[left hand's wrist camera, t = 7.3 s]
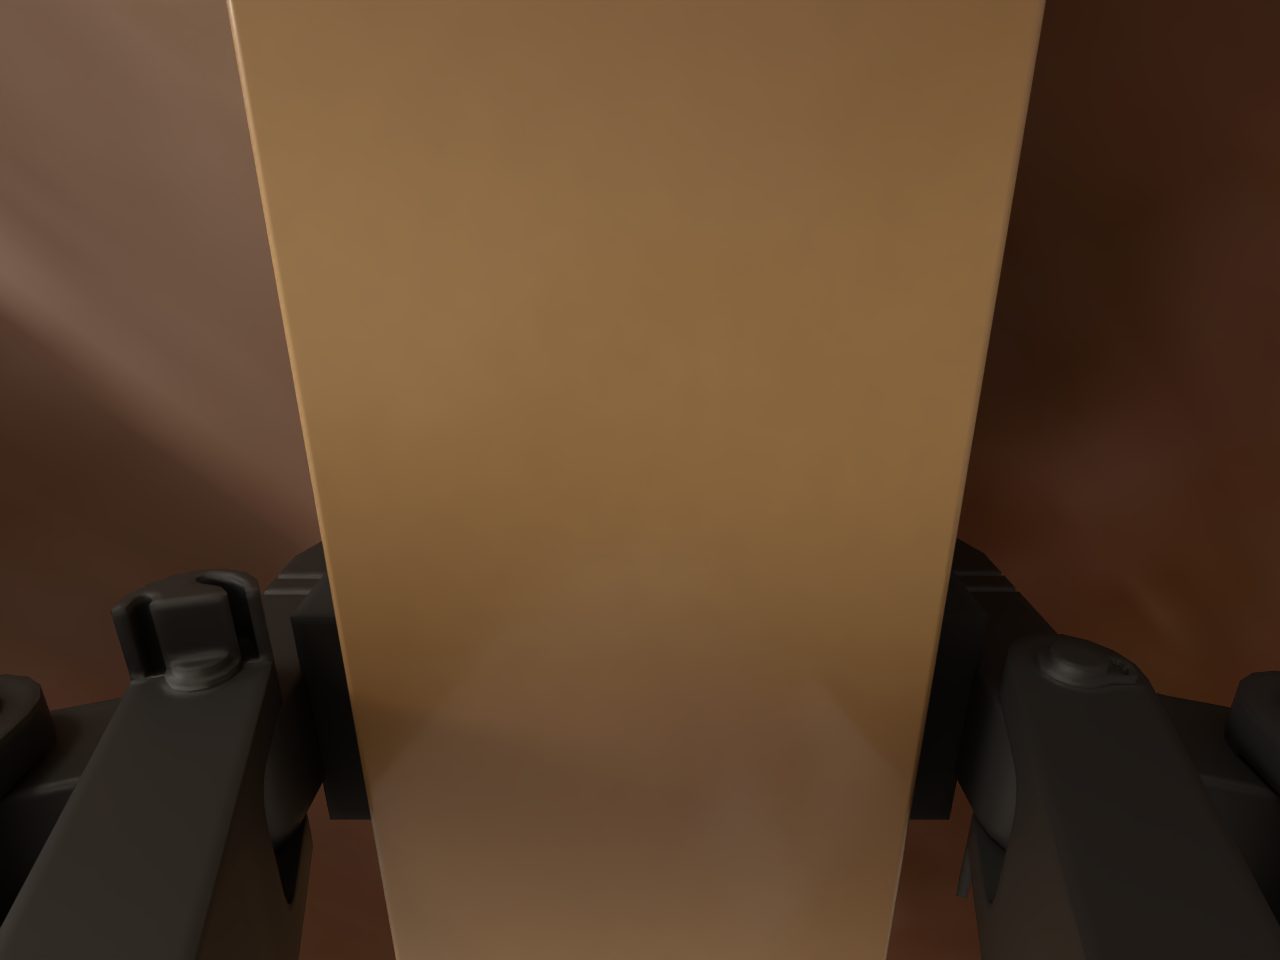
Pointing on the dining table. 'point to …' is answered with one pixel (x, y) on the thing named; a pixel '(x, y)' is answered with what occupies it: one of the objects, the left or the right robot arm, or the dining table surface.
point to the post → (638, 439)
